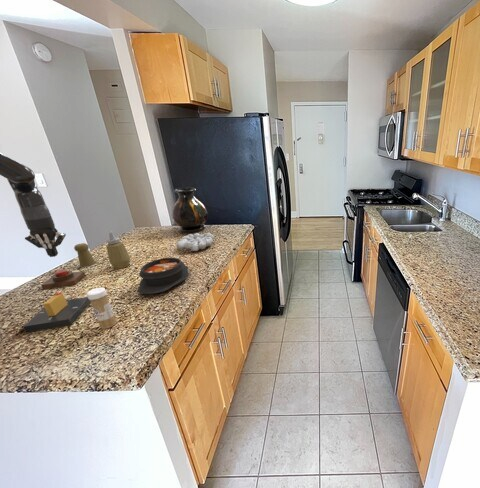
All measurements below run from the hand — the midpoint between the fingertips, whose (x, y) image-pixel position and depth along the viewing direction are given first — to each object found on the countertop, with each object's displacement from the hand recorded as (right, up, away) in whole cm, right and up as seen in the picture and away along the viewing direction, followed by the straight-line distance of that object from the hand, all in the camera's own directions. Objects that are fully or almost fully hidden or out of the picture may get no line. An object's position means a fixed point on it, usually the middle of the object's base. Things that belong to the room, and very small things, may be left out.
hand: (53, 256), depth 109 cm
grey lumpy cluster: (+39, +4, +43) cm, 58 cm away
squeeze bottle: (+14, -6, +19) cm, 24 cm away
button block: (+1, -12, +4) cm, 13 cm away
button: (+1, -8, +3) cm, 9 cm away
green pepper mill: (-4, -5, +21) cm, 22 cm away
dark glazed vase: (+23, +15, +71) cm, 76 cm away
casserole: (+45, -12, +4) cm, 47 cm away
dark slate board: (+21, -21, -18) cm, 34 cm away
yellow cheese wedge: (+21, -18, -18) cm, 33 cm away
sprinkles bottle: (+42, -22, -22) cm, 52 cm away
